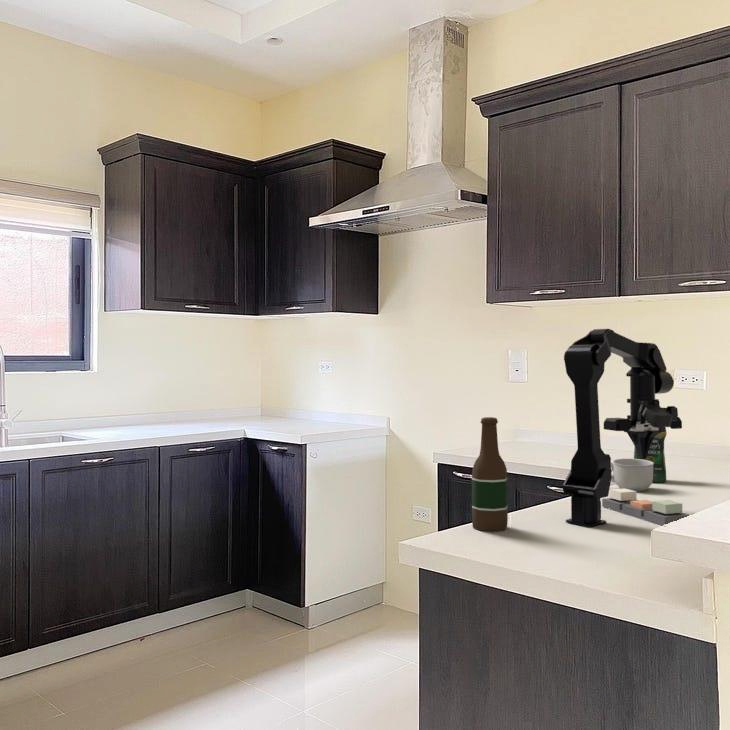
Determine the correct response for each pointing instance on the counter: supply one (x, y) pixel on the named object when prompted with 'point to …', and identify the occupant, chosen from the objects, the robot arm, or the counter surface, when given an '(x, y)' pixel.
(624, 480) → the teacup
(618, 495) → the cream button
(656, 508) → the sage button
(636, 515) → the button bank
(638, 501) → the terracotta button
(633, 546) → the counter surface
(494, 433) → the beer bottle
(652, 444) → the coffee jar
